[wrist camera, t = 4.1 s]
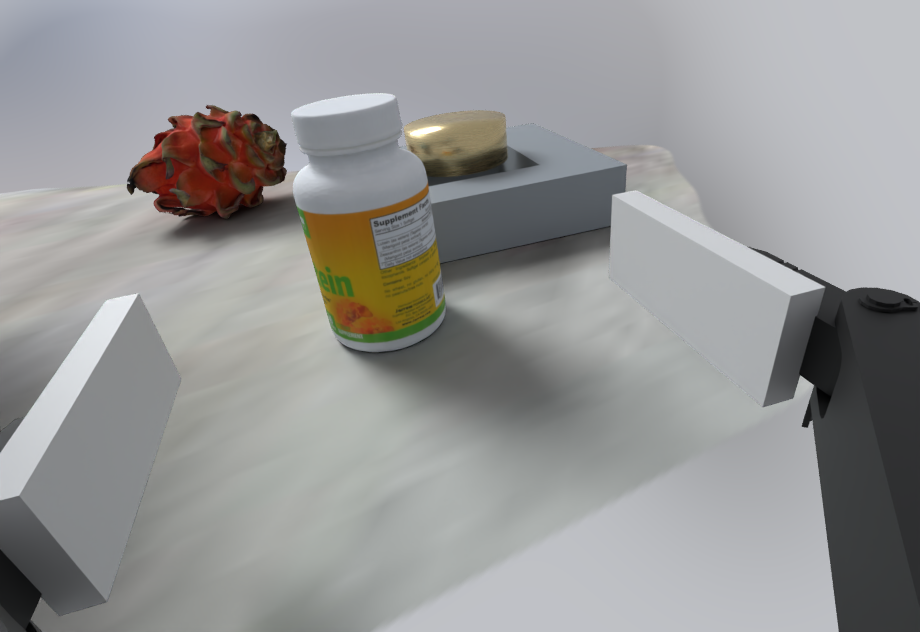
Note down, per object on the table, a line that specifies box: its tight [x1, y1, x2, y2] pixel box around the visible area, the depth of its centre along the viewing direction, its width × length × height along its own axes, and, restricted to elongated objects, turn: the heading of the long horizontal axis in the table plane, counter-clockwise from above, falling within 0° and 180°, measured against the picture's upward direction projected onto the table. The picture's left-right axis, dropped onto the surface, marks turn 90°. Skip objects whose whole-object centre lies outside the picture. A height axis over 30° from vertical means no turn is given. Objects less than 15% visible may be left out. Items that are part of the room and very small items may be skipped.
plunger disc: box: [404, 110, 508, 177], centre depth 33 cm, size 6×6×2 cm
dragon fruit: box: [127, 105, 287, 219], centre depth 40 cm, size 8×8×12 cm
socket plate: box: [399, 123, 627, 263], centre depth 35 cm, size 16×14×4 cm
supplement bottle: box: [291, 93, 446, 352], centre depth 22 cm, size 5×5×10 cm
